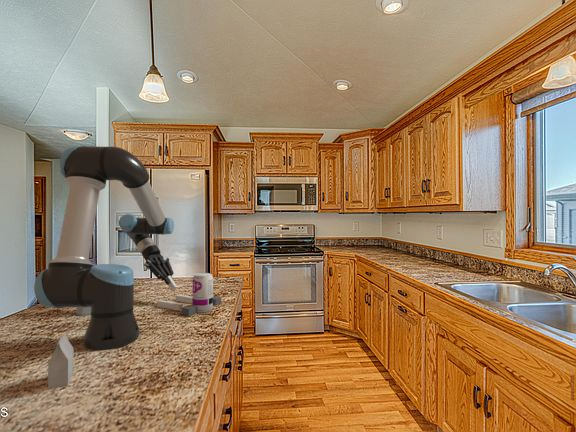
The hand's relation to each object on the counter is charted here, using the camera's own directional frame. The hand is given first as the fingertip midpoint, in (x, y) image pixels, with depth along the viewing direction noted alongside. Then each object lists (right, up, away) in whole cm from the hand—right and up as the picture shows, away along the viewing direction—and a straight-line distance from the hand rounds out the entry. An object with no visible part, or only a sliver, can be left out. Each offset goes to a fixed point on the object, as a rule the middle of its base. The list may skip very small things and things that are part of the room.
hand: (174, 288), depth 137 cm
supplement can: (+15, -7, -9) cm, 19 cm away
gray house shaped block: (-3, -7, -65) cm, 65 cm away
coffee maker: (-29, -7, -13) cm, 33 cm away
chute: (+6, -7, -4) cm, 10 cm away
